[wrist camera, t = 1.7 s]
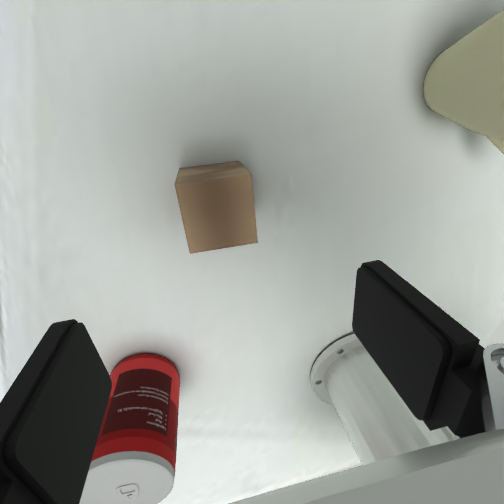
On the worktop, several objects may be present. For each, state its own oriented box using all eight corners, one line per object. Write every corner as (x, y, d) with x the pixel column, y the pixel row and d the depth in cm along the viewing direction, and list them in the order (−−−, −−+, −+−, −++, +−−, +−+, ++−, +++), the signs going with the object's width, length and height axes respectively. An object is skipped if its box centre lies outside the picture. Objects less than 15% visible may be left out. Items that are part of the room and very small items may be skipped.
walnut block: (238, 160, 24) (251, 174, 19) (245, 216, 26) (257, 242, 21) (179, 168, 23) (174, 184, 18) (190, 224, 26) (189, 253, 20)
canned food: (133, 409, 34) (109, 525, 25) (94, 367, 31) (48, 486, 21) (191, 385, 34) (190, 492, 25) (160, 341, 31) (144, 447, 21)
